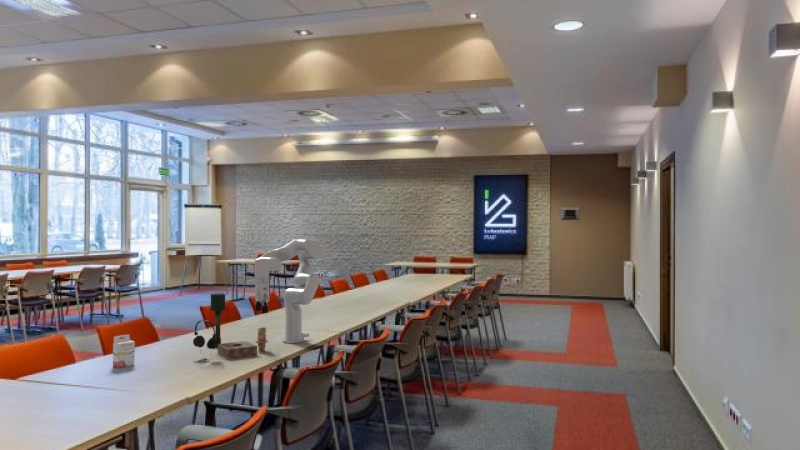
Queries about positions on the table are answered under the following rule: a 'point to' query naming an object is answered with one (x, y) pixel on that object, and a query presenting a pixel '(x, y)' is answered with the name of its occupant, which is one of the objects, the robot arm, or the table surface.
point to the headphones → (200, 340)
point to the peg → (261, 338)
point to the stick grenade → (218, 311)
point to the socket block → (237, 349)
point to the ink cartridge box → (123, 351)
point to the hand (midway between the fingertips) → (261, 311)
